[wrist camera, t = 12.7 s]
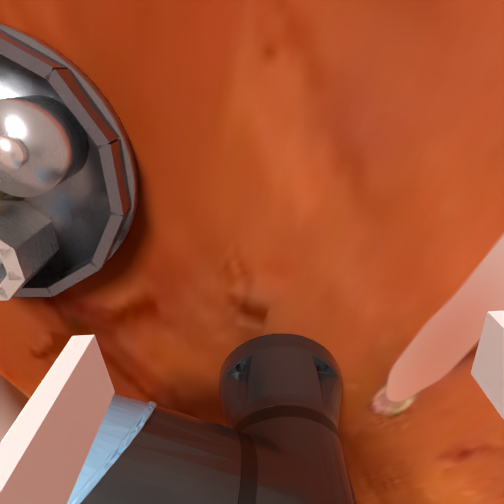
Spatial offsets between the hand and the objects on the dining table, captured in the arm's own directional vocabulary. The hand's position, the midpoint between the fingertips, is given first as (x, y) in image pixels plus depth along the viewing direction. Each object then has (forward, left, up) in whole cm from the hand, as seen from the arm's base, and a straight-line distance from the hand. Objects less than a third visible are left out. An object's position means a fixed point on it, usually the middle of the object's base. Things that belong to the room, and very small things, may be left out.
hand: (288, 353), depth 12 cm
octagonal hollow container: (-5, +24, -22) cm, 33 cm away
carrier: (0, +24, -24) cm, 34 cm away
